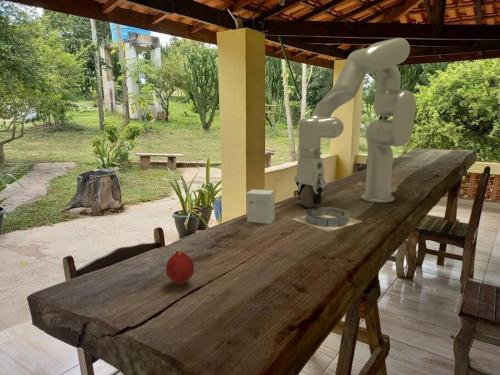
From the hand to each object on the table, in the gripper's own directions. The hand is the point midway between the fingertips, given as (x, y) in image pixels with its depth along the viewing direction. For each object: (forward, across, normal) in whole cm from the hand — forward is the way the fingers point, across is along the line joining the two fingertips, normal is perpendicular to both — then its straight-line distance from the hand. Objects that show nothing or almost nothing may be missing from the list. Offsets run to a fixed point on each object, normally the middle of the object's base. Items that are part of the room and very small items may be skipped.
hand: (309, 201), depth 131 cm
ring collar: (+2, -15, +7) cm, 16 cm away
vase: (+2, 0, 0) cm, 2 cm away
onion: (+2, -26, +63) cm, 68 cm away
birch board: (+3, -15, +7) cm, 17 cm away
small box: (+3, -2, +24) cm, 24 cm away
